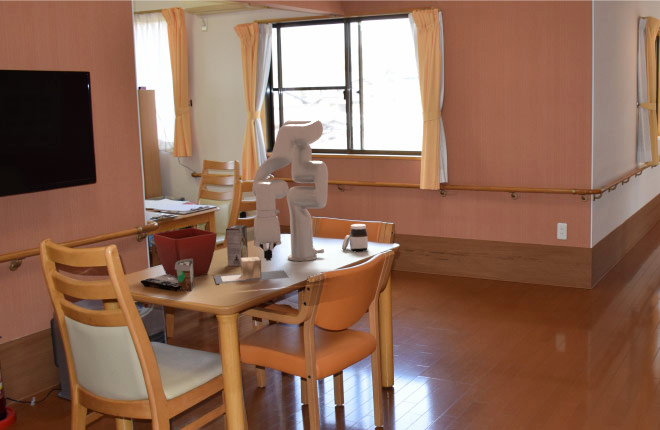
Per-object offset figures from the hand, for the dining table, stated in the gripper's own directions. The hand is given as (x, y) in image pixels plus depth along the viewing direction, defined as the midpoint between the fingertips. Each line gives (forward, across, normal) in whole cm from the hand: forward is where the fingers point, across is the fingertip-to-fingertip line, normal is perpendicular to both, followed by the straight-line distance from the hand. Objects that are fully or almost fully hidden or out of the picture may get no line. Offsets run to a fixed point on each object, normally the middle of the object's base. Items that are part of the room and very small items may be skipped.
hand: (268, 259), depth 289 cm
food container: (+7, +33, +7) cm, 35 cm away
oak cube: (+3, +4, 0) cm, 4 cm away
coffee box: (+7, +9, -28) cm, 31 cm away
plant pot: (+7, +31, -17) cm, 36 cm away
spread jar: (+7, -45, -38) cm, 59 cm away
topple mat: (+7, +7, 0) cm, 10 cm away
